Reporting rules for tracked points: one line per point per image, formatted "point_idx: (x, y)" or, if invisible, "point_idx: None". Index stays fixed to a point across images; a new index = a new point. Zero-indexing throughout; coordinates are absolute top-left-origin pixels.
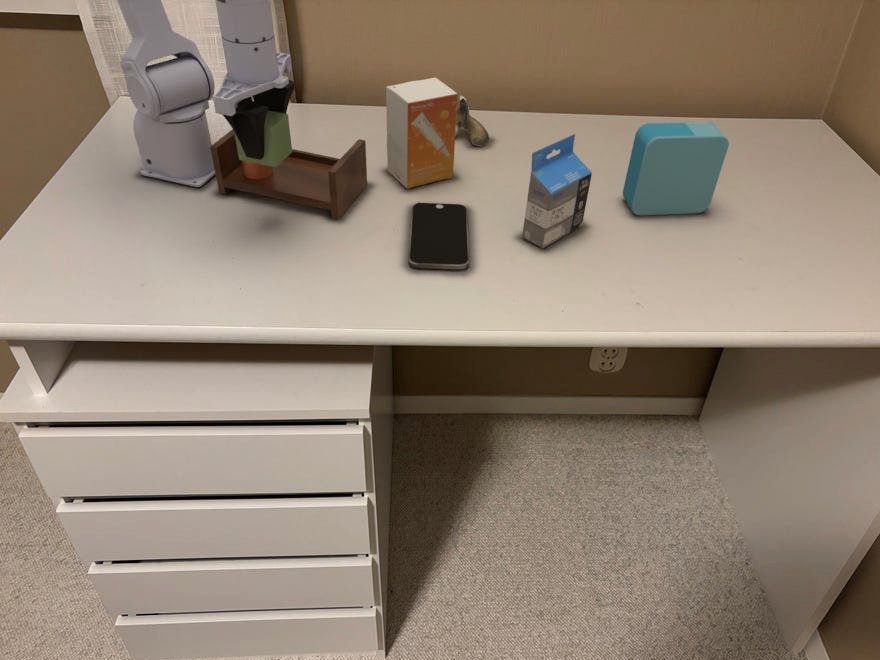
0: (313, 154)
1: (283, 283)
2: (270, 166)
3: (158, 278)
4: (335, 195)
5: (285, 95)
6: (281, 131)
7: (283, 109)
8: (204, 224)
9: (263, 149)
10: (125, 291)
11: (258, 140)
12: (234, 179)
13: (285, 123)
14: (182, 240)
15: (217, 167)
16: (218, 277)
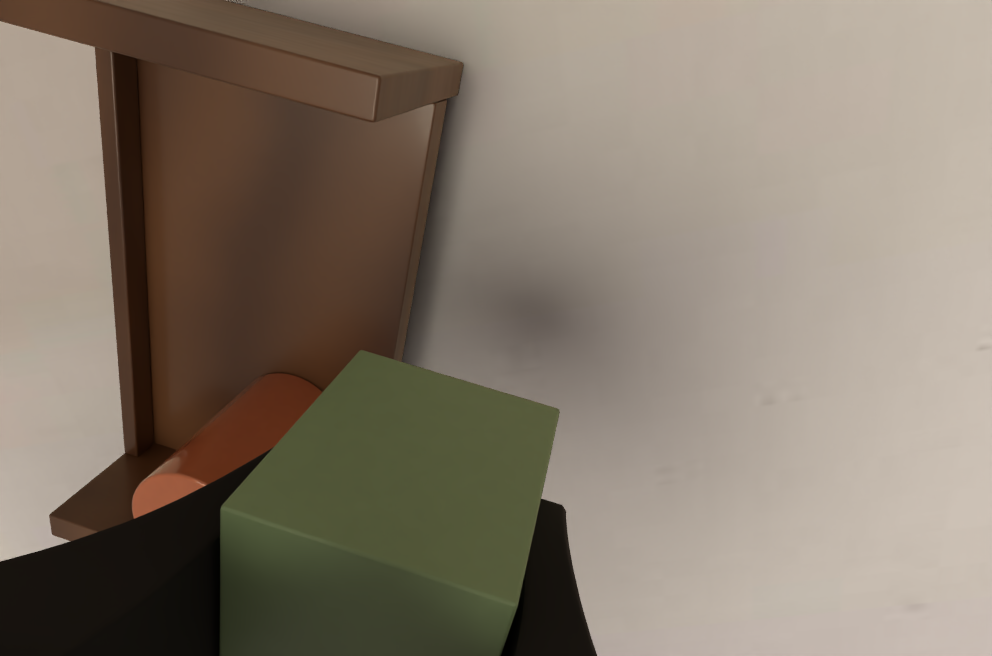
0: (117, 249)
1: (968, 200)
2: (276, 393)
3: (880, 577)
4: (427, 76)
5: (86, 646)
6: (391, 488)
7: (186, 552)
8: (565, 506)
9: (541, 531)
10: (944, 639)
11: (582, 615)
12: None
13: (305, 487)
14: (662, 547)
15: None
16: (893, 427)
